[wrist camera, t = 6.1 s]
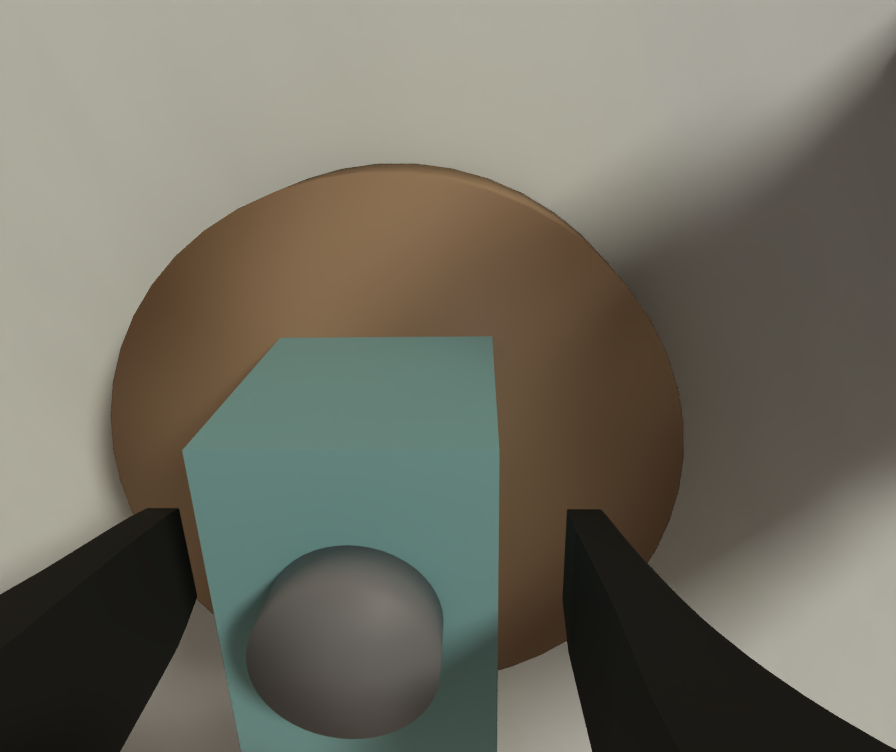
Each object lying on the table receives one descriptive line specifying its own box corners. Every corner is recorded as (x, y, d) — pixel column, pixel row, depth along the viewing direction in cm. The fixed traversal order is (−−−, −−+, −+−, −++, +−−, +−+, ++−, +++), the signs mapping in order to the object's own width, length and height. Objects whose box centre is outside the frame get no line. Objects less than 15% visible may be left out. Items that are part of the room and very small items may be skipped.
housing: (492, 336, 14) (501, 488, 8) (491, 570, 16) (498, 814, 10) (280, 337, 14) (149, 487, 8) (308, 568, 16) (220, 807, 11)
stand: (764, 360, 16) (811, 401, 14) (470, 679, 21) (469, 751, 18) (308, 40, 14) (275, 26, 12) (86, 474, 18) (30, 527, 16)
